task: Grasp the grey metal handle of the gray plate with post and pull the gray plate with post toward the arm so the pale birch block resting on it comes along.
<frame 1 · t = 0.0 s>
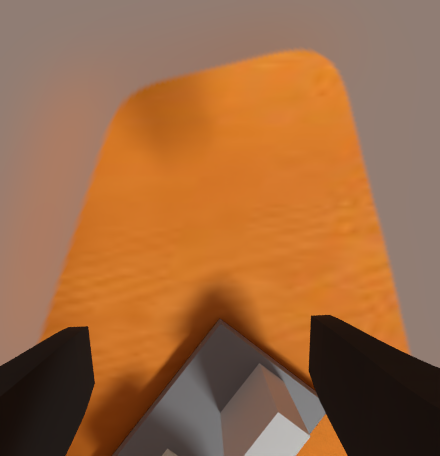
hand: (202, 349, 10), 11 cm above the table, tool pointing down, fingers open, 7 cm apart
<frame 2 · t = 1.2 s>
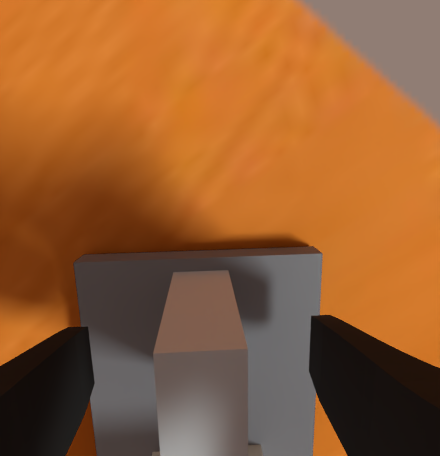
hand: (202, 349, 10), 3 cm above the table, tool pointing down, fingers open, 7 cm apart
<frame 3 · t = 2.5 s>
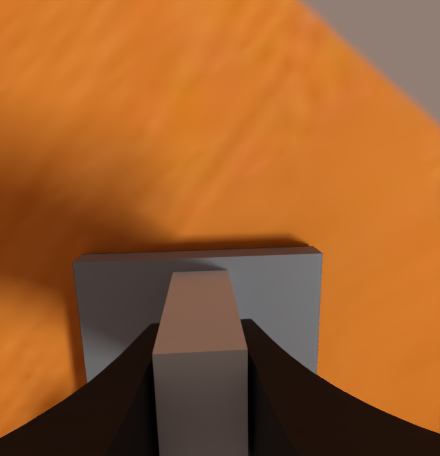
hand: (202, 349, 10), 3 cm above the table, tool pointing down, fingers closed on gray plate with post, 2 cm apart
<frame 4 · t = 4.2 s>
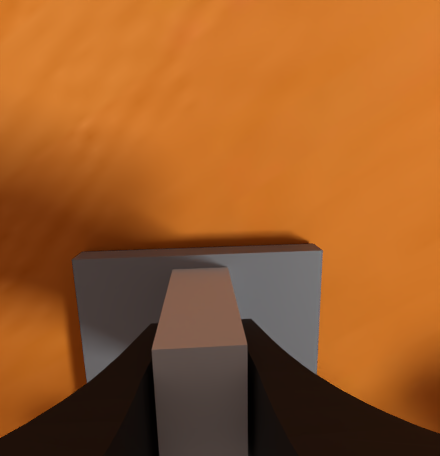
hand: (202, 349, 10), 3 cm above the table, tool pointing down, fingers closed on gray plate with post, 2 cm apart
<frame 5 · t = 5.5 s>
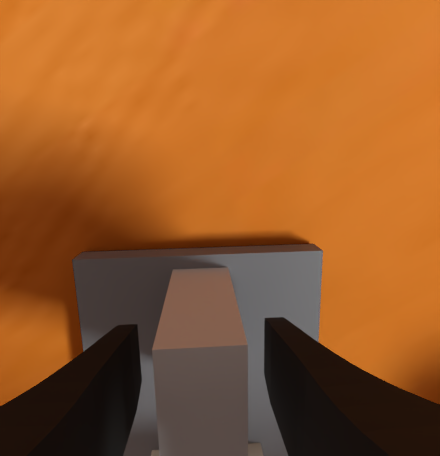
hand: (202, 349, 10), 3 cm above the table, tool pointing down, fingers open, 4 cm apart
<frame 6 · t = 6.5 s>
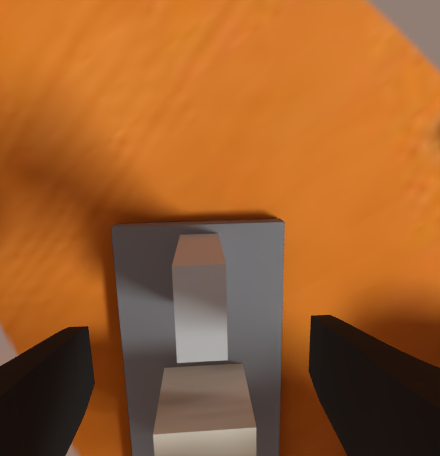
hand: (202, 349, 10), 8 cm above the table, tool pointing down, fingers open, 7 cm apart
birch block: (205, 399, 19), point 1 cm above the table, touching gray plate with post
gray plate with post: (204, 402, 16), point 3 cm above the table, slide at 5.9 cm, touching birch block
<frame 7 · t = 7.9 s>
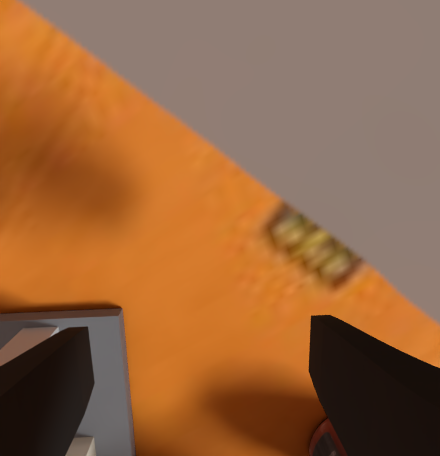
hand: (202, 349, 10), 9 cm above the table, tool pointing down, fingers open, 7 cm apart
supplement bottle: (345, 438, 23), on the table
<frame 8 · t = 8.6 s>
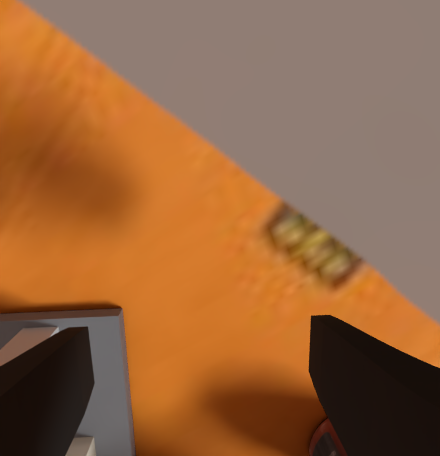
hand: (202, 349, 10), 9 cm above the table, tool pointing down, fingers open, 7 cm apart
supplement bottle: (345, 438, 23), on the table
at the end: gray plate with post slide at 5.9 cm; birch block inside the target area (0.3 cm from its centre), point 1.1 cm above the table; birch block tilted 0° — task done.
